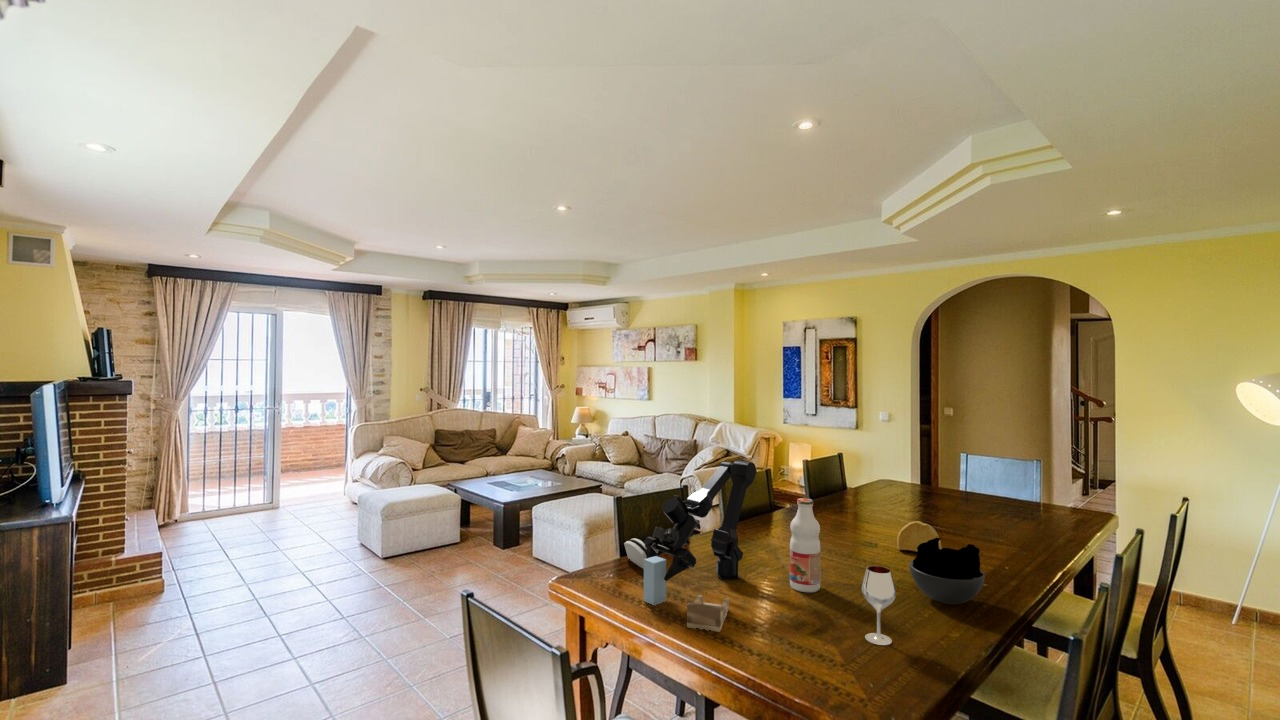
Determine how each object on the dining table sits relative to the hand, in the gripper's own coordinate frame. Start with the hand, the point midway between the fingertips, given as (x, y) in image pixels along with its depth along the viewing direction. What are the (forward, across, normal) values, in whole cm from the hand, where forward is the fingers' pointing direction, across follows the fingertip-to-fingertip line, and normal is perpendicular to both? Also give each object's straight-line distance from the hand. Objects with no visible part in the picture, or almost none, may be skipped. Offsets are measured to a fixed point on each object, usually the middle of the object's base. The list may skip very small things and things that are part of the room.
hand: (654, 575), depth 172 cm
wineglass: (-15, +55, +26) cm, 62 cm away
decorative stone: (-74, +29, +84) cm, 115 cm away
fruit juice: (-26, +22, +37) cm, 51 cm away
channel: (+3, +18, +8) cm, 20 cm away
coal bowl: (-43, +56, +53) cm, 88 cm away
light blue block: (+5, 0, +6) cm, 8 cm away
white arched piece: (-7, -27, +18) cm, 33 cm away
